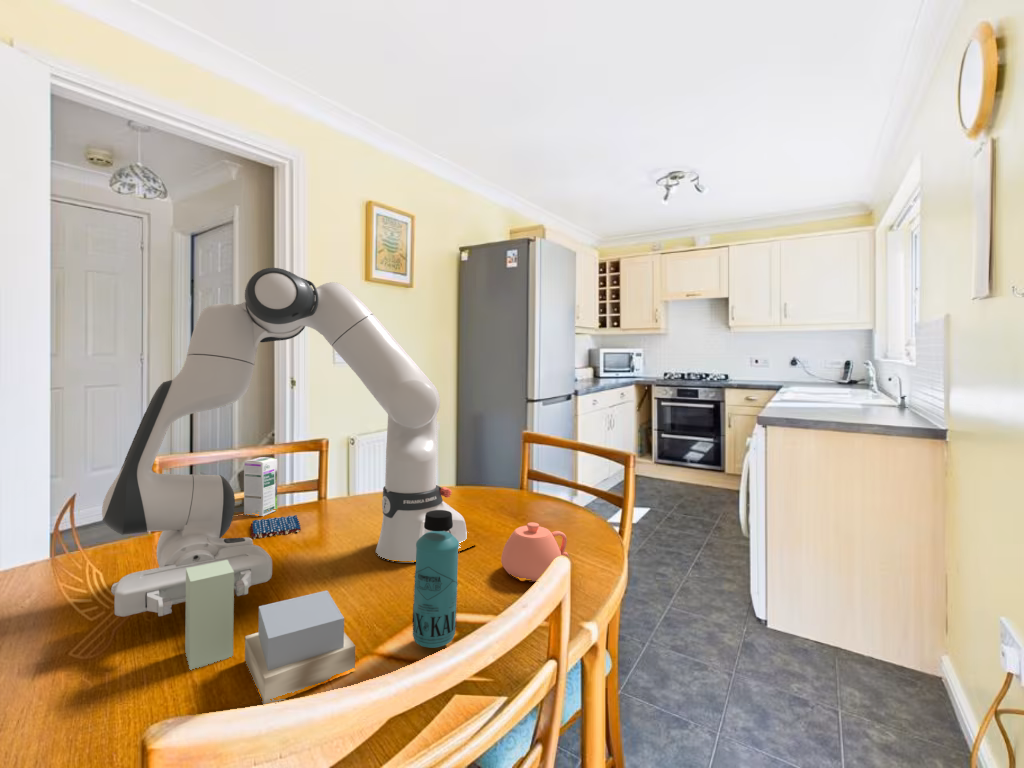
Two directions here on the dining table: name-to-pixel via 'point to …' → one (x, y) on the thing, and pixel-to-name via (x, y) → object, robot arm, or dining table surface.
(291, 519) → the blue studded pad
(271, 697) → the tower base
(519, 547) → the sugar bowl
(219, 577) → the sage block
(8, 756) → the dining table surface
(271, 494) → the syrup box
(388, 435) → the robot arm
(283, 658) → the tower top
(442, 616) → the beverage bottle
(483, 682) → the dining table surface
